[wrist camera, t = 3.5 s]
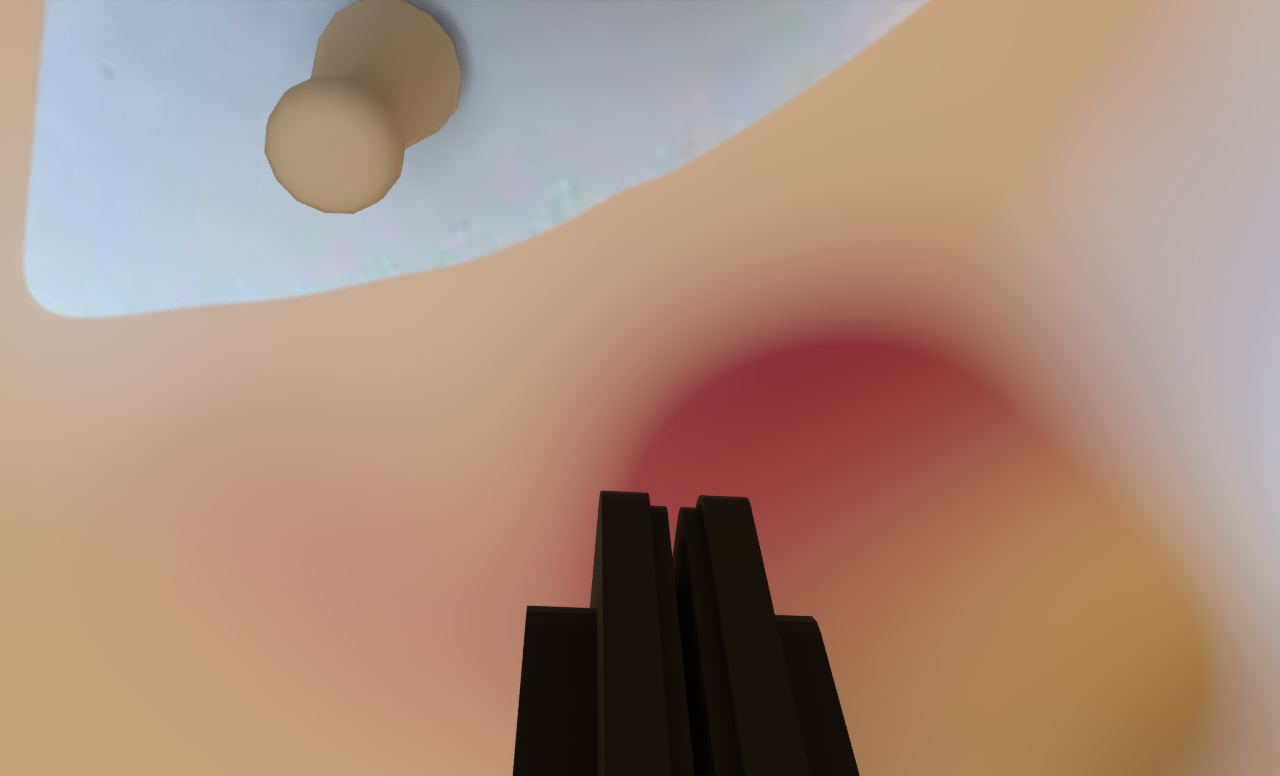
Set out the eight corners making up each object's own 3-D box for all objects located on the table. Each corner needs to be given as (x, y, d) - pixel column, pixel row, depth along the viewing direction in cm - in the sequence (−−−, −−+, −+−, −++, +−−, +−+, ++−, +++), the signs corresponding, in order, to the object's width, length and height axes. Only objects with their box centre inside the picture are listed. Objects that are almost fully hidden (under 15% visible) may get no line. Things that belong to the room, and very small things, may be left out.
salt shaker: (495, 73, 42) (459, 178, 31) (398, 152, 43) (331, 278, 32) (400, -45, 39) (322, 24, 28) (301, 44, 41) (191, 141, 30)
